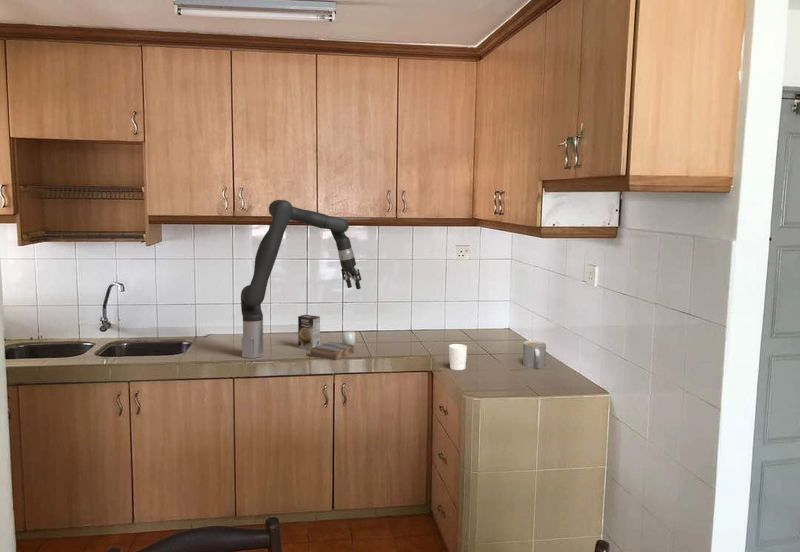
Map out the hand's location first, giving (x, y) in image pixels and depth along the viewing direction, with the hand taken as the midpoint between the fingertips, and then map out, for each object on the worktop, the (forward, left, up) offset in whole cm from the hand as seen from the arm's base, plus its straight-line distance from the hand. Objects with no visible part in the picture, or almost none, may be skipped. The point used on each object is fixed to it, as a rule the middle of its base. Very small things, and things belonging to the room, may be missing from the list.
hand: (354, 288), depth 326 cm
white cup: (-17, -64, -29) cm, 72 cm away
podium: (-24, -2, -29) cm, 37 cm away
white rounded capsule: (-9, -2, -29) cm, 30 cm away
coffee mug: (+3, -92, -29) cm, 97 cm away
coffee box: (-19, +15, -29) cm, 37 cm away
